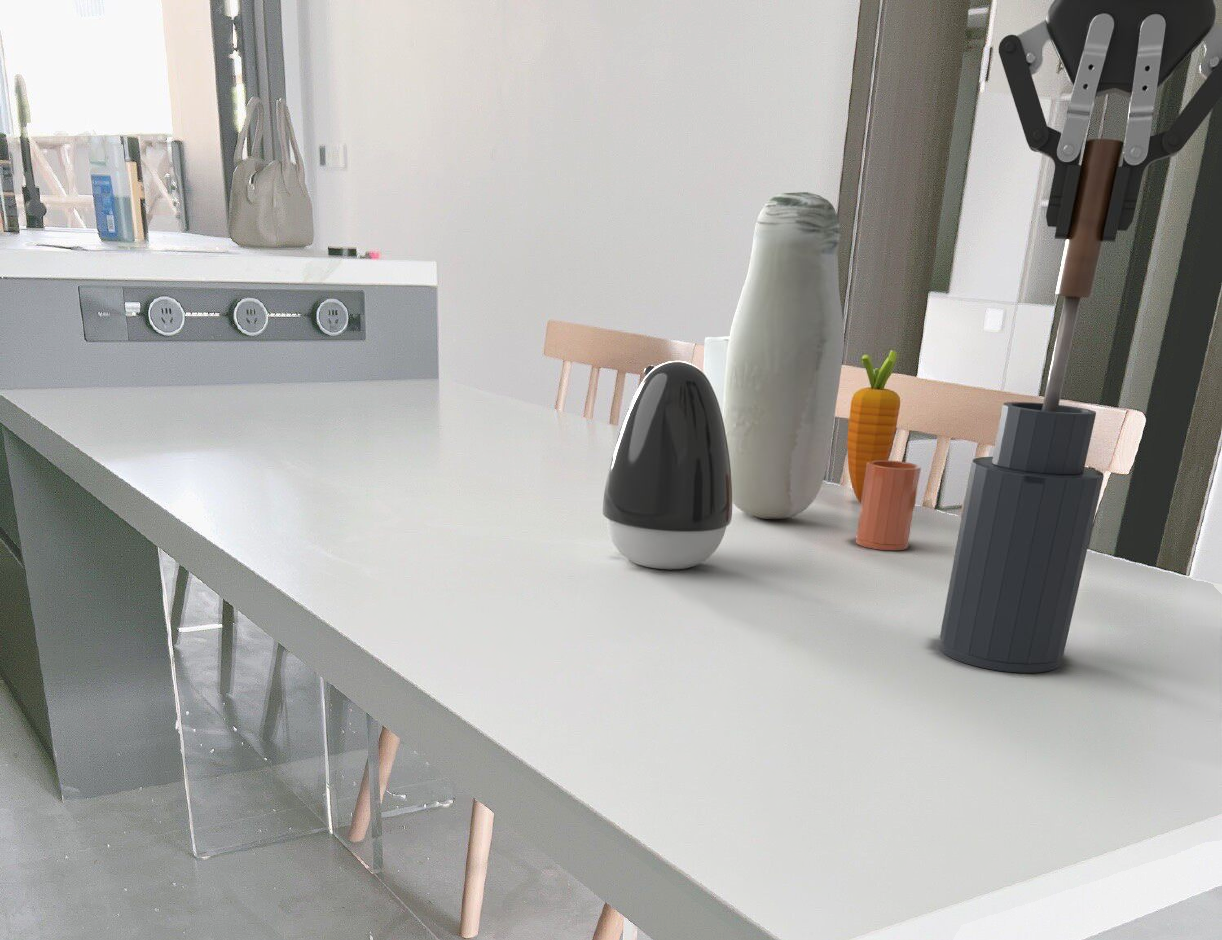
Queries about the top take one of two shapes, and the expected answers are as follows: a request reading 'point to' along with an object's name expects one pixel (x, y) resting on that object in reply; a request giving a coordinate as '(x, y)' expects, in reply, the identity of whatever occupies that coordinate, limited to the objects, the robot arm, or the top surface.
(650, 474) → the dark egg shaped ornament
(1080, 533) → the steel bottle
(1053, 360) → the bottle brush
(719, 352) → the cosmetic box
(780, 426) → the pale grey bottle
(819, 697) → the top surface
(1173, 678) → the top surface
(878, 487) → the cup
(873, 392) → the carrot
